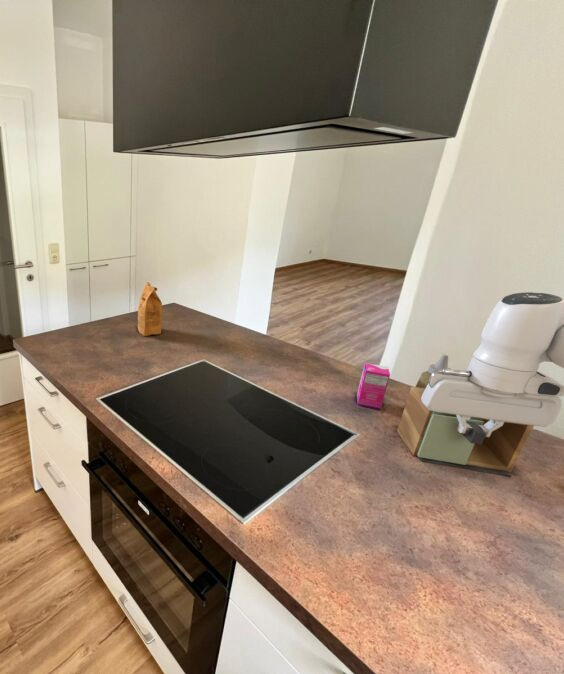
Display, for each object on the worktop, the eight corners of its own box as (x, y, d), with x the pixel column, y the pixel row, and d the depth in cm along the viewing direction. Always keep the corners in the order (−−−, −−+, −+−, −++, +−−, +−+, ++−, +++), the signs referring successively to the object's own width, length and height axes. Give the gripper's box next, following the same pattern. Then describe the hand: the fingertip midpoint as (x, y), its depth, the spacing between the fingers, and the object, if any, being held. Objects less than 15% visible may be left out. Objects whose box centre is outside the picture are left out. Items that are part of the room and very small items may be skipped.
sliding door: (464, 463, 80) (482, 420, 76) (476, 477, 76) (496, 433, 72) (417, 455, 83) (432, 413, 79) (426, 468, 79) (442, 425, 75)
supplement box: (355, 396, 109) (364, 362, 105) (379, 401, 106) (389, 366, 102) (356, 405, 104) (365, 369, 100) (380, 410, 101) (391, 374, 97)
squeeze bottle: (398, 409, 102) (417, 351, 95) (419, 404, 104) (439, 347, 98) (429, 425, 95) (452, 363, 88) (450, 419, 97) (474, 359, 90)
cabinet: (483, 444, 87) (504, 398, 83) (516, 477, 77) (542, 427, 72) (396, 430, 93) (411, 386, 88) (416, 460, 82) (434, 412, 78)
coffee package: (155, 326, 169) (157, 280, 161) (163, 336, 158) (165, 287, 150) (135, 328, 168) (135, 281, 160) (141, 337, 156) (142, 288, 148)
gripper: (441, 374, 70) (419, 432, 76) (580, 390, 64) (546, 452, 70) (426, 361, 76) (407, 416, 81) (553, 375, 70) (523, 433, 75)
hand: (472, 433), depth 75 cm, fingers closed on sliding door, 2 cm apart
